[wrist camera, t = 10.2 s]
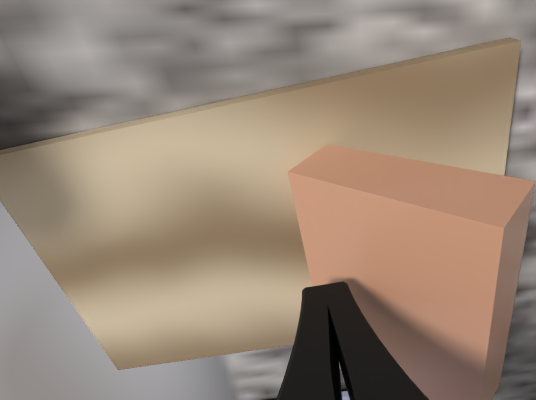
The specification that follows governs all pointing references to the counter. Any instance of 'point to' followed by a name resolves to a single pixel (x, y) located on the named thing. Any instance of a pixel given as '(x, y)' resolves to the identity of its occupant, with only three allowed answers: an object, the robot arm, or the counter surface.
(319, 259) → the tile
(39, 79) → the counter surface
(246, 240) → the mat
